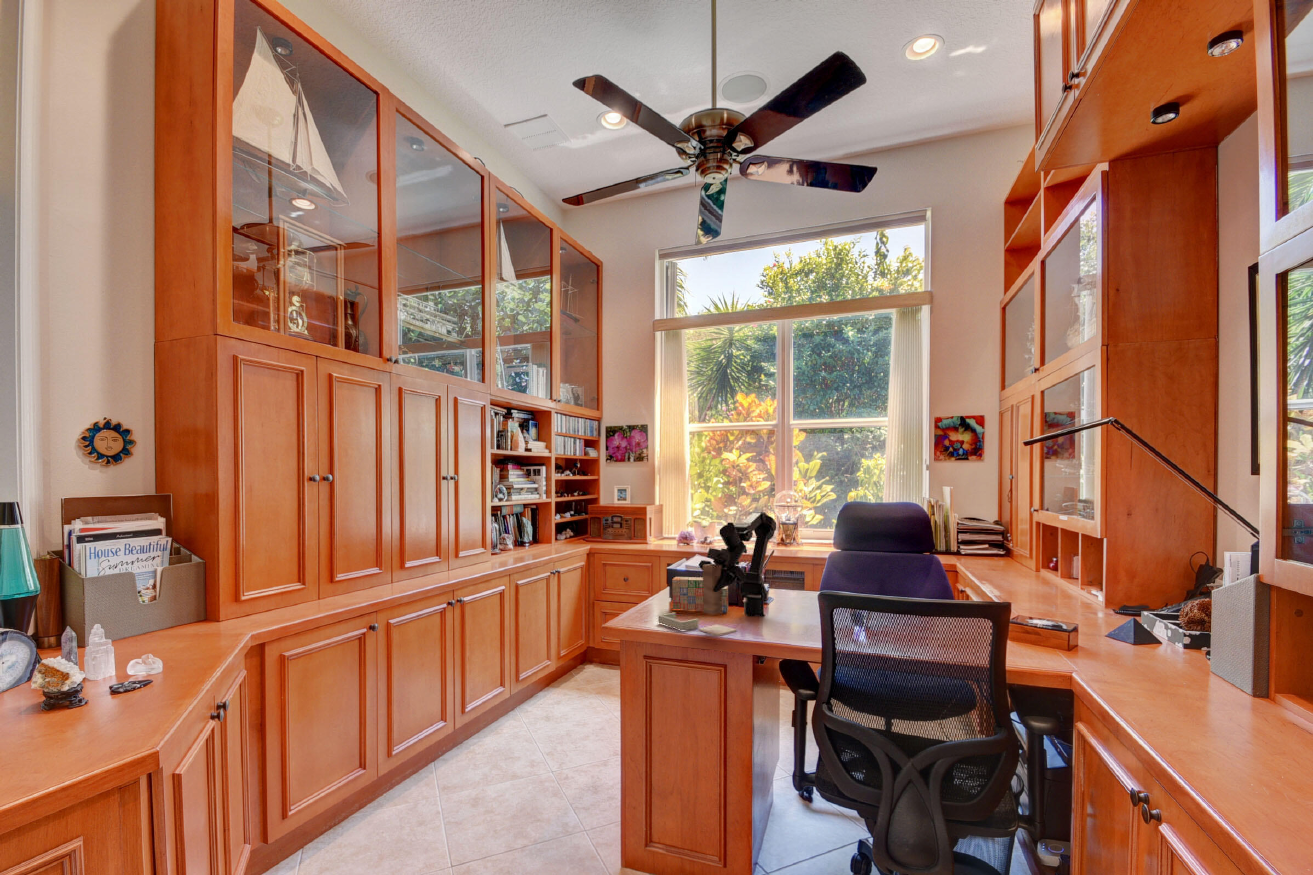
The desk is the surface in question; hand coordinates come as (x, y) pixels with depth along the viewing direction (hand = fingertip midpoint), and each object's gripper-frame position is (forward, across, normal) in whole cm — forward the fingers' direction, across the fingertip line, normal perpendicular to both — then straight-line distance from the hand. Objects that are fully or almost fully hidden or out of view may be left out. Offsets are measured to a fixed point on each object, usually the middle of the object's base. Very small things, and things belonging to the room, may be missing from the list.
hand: (709, 590), depth 194 cm
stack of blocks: (-3, -25, +23) cm, 34 cm away
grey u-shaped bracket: (+12, -12, +7) cm, 18 cm away
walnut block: (+4, 0, +6) cm, 8 cm away
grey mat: (+8, +2, +11) cm, 14 cm away
